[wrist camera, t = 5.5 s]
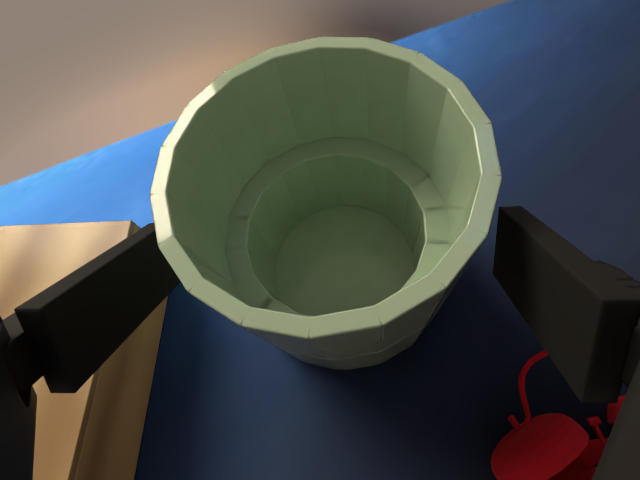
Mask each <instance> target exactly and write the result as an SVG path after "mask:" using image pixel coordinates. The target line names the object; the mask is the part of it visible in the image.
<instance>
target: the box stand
mask: <svg viewBox="0 0 640 480" xmlns="http://www.w3.org/2000/svg"><path fill="white" fill-rule="evenodd" d="M140 229H141V228H140V227H139V226H137V225H136V224H135V223H134V222H133V221H109V222H86V223H63V224H40V225H17V226H0V316H1V318H2V320H3V319H5V318H7V317H8V316H10V315H11V314H13V313H14V312H15V311H14V309H15V308H16V307H18V306H19V305H21V304H23V303H24V302H26V301H27V300H29V299H31V298H32V297H34V296H35V295H37V294H38V293H40V292H42V291H43V290H45V289H46V288H48V287H50V286H51V285H53V284H54V283H56V282H57V281H59V280H61V279H62V278H64V277H65V276H67V275H69V274H70V273H72V272H73V271H75V270H76V269H78V268H80V267H81V266H83V265H84V264H86V263H88V262H89V261H91V260H92V259H94V258H96V257H97V256H99V255H100V254H102V253H103V252H105V251H107V250H108V249H110V248H111V247H113V246H115V245H116V244H118V243H119V242H121V241H122V240H124V239H126V238H127V237H129V236H130V235H132V234H134V233H135V232H137V231H138V230H140ZM167 299H168V296H167V297H166V298H165V299H164V300H163V301H162V302H161V303H160V304H159V305H158V306H157V307H156V308H155V310H154V311H153V312H152V313H151V314H150V315H149V316H148V317H147V318H146V319H145V320H144V321H143V322H142V323H141V324H140V325H139V326H138V327H137V329H136V330H135V331H134V332H133V333H132V334H131V335H130V336H129V337H128V338H127V339H126V340H125V341H124V342H123V343H122V344H121V345H120V346H119V348H118V349H117V350H116V351H115V352H114V353H113V354H112V355H111V356H110V357H109V358H108V359H107V360H106V361H105V362H104V363H103V364H102V365H101V367H100V368H99V369H98V370H97V371H96V372H95V373H94V374H93V375H92V376H91V377H90V378H89V379H88V380H87V381H86V382H85V383H84V384H83V386H82V387H81V388H80V389H79V390H78V391H77V392H76V393H50V390H49V388H48V386H47V384H46V381H45V379H44V377H43V376H42V377H41V378H40V379H39V380H38V381H37V382H36V383H34V384H33V385H32V386H33V388H34V390H35V392H36V395H37V411H36V429H35V447H34V465H33V480H134V477H135V471H136V466H137V461H138V455H139V450H140V444H141V439H142V434H143V428H144V423H145V418H146V412H147V407H148V401H149V396H150V391H151V385H152V380H153V374H154V369H155V364H156V358H157V353H158V347H159V342H160V337H161V331H162V326H163V321H164V315H165V310H166V304H167Z"/></svg>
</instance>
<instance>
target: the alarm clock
mask: <svg viewBox="0 0 640 480" xmlns="http://www.w3.org/2000/svg"><path fill="white" fill-rule="evenodd" d="M546 356H548V353H547V352H546V350H544V351H542V352H540V353H538V354H536V355H535V356H533V357H531V358H530V359H529V360H528V361H527V362H526V363H525V364H524V366H523V367H522V369H521V371H520V374H519V383H518V386H519V394H520V398H521V402H522V405H523V409H524V413H525V421H524V422H523V423H522V424H519V423H518V421H517V420H516V419H515V417H514V416H513V415H511V416H509V417H508V421H509V422H510V423H511V425H512V426H513V427H514V429H513V430H511V431H510V432H509V433H508V434H507V435H505V436H504V437H503V438H502V439H501V440H500V442H499V443H498V444H497V446H496V447H495V449H494V451H493V453H492V457H491V466H492V471H493V473H494V475H495V477H496V479H497V480H592V478H593V475H594V473H595V470H596V468H597V465H598V463H599V460H600V458H601V455H602V453H603V450H604V448H605V445H606V443H607V440H608V438H604V437H603V434H602V432H601V430H600V428H599V426H598V424H601V420H600V418H599V417H597V416H596V417H592V418H587V419H586V422H587V424H588V425H589V426H593V428H594V430H595V432H596V434H597V436H598V438H599V439H593V440H589V435H588V434H587V432H586V431H585V430H584V429H583V428H582V427H581V426H580V425H579V424H578V423H577V422H576V421H575V420H573V419H572V418H570V417H568V416H566V415H564V414H560V413H547V414H542V415H538V416H536V417H534V418H531V413H530V409H529V405H528V401H527V397H526V392H525V376H526V374H527V372H528V370H529V369H530V367H531V366H532V365H533V364H534V363H536V362H537V361H538V360H540V359H542V358H544V357H546ZM624 398H625V395H623V396H619V398H618V401H617V403H609V404H608V406H607V423H610V424H614V423H615V420H616V418H617V415H618V413H619V410H620V408H621V405H622V403H623V400H624Z"/></svg>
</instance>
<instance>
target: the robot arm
mask: <svg viewBox="0 0 640 480" xmlns="http://www.w3.org/2000/svg"><path fill="white" fill-rule="evenodd" d="M493 275H494V276H495V278H496V279H497V281H498V282H499V284H500V285H501V286H502V288H503V289H504V291H505V292H506V294H507V295H508V297H509V298H510V300H511V301H512V302H513V304H514V305H515V307H516V308H517V310H518V311H519V313H520V314H521V316H522V317H523V318H524V320H525V321H526V323H527V324H528V326H529V327H530V329H531V330H532V332H533V333H534V334H535V336H536V337H537V339H538V340H539V342H540V343H541V345H542V346H543V348H544V349H545V350H546V352H547V353H548V355H549V356H550V358H551V359H552V361H553V362H554V364H555V365H556V366H557V368H558V369H559V371H560V372H561V374H562V375H563V377H564V378H565V380H566V381H567V382H568V384H569V385H570V387H571V388H572V390H573V391H574V393H575V394H576V396H577V397H578V398H579V400H580V401H581V403H617V401H618V398H619V394H620V390H621V386H622V382H623V383H624V384H625V385H626V386H627V387H628V390H627V393H626V395H625V398H624V400H623V403H622V405H621V408H620V410H619V413H618V415H617V418H616V420H615V423H614V425H613V428H612V430H611V433H610V435H609V438H608V440H607V443H606V445H605V448H604V450H603V453H602V455H601V458H600V460H599V463H598V465H597V468H596V470H595V473H594V475H593V478H592V480H640V283H639V282H638V281H636V280H633V278H632V277H631V276H629V275H628V274H626V273H625V272H624V271H622V270H621V269H619V268H617V267H614V266H612V265H609V264H607V263H604V262H602V261H593V260H591V259H590V258H589V257H587V256H586V255H585V254H583V253H582V252H581V251H579V250H578V249H577V248H575V247H574V246H573V245H571V244H570V243H569V242H568V241H566V240H565V239H564V238H562V237H561V236H560V235H558V234H557V233H556V232H554V231H553V230H552V229H550V228H549V227H548V226H546V225H545V224H544V223H543V222H541V221H540V220H539V219H537V218H536V217H535V216H533V215H532V214H531V213H529V212H528V211H527V210H525V209H524V208H523V207H521V206H515V207H499V214H498V225H497V235H496V246H495V257H494V268H493ZM180 282H181V281H180V280H179V278H178V277H177V275H176V273H175V272H174V270H173V269H172V267H171V266H170V264H169V263H168V261H167V260H166V258H165V257H164V255H163V254H162V252H161V251H160V249H159V247H158V243H157V237H156V231H155V225H154V223H149V224H148V225H146V226H145V227H143V228H141V229H140V230H138V231H137V232H135V233H134V234H132V235H130V236H129V237H127V238H126V239H124V240H122V241H121V242H119V243H118V244H116V245H115V246H113V247H111V248H110V249H108V250H107V251H105V252H103V253H102V254H100V255H99V256H97V257H96V258H94V259H92V260H91V261H89V262H88V263H86V264H84V265H83V266H81V267H80V268H78V269H76V270H75V271H73V272H72V273H70V274H69V275H67V276H65V277H64V278H62V279H61V280H59V281H57V282H56V283H54V284H53V285H51V286H50V287H48V288H46V289H45V290H43V291H42V292H40V293H38V294H37V295H35V296H34V297H32V298H31V299H29V300H27V301H26V302H24V303H23V304H21V305H19V306H18V307H16V308H15V309H14V311H15V312H14V313H13V314H11V315H10V316H8V317H7V318H5V319H3V320H2V318H1V316H0V480H33V465H34V447H35V429H36V411H37V395H36V392H35V390H34V388H33V386H32V385H33V384H34V383H36V382H37V381H38V380H39V379H40V378H41V377H42V376H43V377H44V379H45V381H46V384H47V386H48V388H49V390H50V393H76V392H77V391H78V390H79V389H80V388H81V387H82V386H83V384H84V383H85V382H86V381H87V380H88V379H89V378H90V377H91V376H92V375H93V374H94V373H95V372H96V371H97V370H98V369H99V368H100V367H101V365H102V364H103V363H104V362H105V361H106V360H107V359H108V358H109V357H110V356H111V355H112V354H113V353H114V352H115V351H116V350H117V349H118V348H119V346H120V345H121V344H122V343H123V342H124V341H125V340H126V339H127V338H128V337H129V336H130V335H131V334H132V333H133V332H134V331H135V330H136V329H137V327H138V326H139V325H140V324H141V323H142V322H143V321H144V320H145V319H146V318H147V317H148V316H149V315H150V314H151V313H152V312H153V311H154V310H155V308H156V307H157V306H158V305H159V304H160V303H161V302H162V301H163V300H164V299H165V298H166V297H167V296H168V295H169V294H170V293H171V292H172V291H173V289H174V288H175V287H176V286H177V285H178V284H179V283H180Z"/></svg>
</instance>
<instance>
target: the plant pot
mask: <svg viewBox="0 0 640 480" xmlns="http://www.w3.org/2000/svg"><path fill="white" fill-rule="evenodd" d="M501 181H502V174H501V169H500V164H499V158H498V153H497V148H496V143H495V138H494V133H493V127H492V124H491V121H490V120H489V119H488V117H487V116H486V114H485V113H484V111H483V110H482V109H481V107H480V106H479V104H478V103H477V101H476V100H475V98H474V97H473V96H472V94H471V93H470V91H469V90H468V88H467V87H466V86H465V84H464V83H463V82H461V80H460V79H459V78H457V77H456V76H454V75H453V74H451V73H450V72H448V71H447V70H445V69H444V68H442V67H441V66H439V65H438V64H437V63H435V62H434V61H432V60H431V59H429V58H428V57H426V56H425V55H423V54H422V53H419V52H418V51H414V50H411V49H407V48H404V47H401V46H397V45H394V44H390V43H387V42H384V41H380V40H377V39H373V38H371V39H370V38H358V37H320V38H319V37H316V38H312V39H308V40H304V41H300V42H295V43H291V44H286V45H282V46H278V47H273V48H271V49H268V50H266V51H264V52H262V53H260V54H258V55H256V56H254V57H252V58H250V59H248V60H246V61H244V62H242V63H240V64H238V65H236V66H234V67H232V68H230V69H228V70H226V72H223V73H222V74H221V75H220V76H219V77H217V78H216V79H215V80H214V81H213V82H212V83H211V84H210V85H208V86H207V87H206V88H205V89H204V90H203V91H202V92H201V93H200V94H198V95H197V96H196V97H195V98H194V99H193V100H192V101H191V102H189V103H188V106H186V107H185V109H184V111H183V112H182V114H181V116H180V117H179V119H178V120H177V122H176V124H175V125H174V127H173V128H172V130H171V132H170V133H169V135H168V136H167V138H166V140H165V141H164V143H163V144H162V147H161V148H160V152H159V156H158V161H157V165H156V170H155V174H154V178H153V183H152V187H151V191H150V200H151V206H152V212H153V219H154V225H155V231H156V237H157V243H158V247H159V249H160V251H161V252H162V254H163V255H164V257H165V258H166V260H167V261H168V263H169V264H170V266H171V267H172V269H173V270H174V272H175V273H176V275H177V277H178V278H179V280H180V281H181V283H182V284H183V286H184V287H185V289H186V290H187V292H189V293H190V294H191V295H192V296H194V297H195V298H197V299H198V300H200V301H201V302H203V303H205V304H206V305H208V306H209V307H211V308H212V309H214V310H215V311H217V312H219V313H220V314H222V315H223V316H225V317H226V318H228V319H229V320H231V321H232V322H234V323H236V324H237V325H239V326H240V327H242V328H244V329H246V330H248V331H249V332H251V333H253V334H255V335H257V336H258V337H260V338H262V339H264V340H266V341H267V342H269V343H271V344H273V345H275V346H276V347H278V348H280V349H282V350H283V351H285V352H287V353H289V354H291V355H292V356H294V357H296V358H298V359H300V360H301V361H303V362H305V363H307V364H312V365H317V366H322V367H327V368H332V369H337V370H350V369H355V368H361V367H367V366H373V365H379V364H382V363H383V362H385V361H387V360H388V359H390V358H392V357H393V356H395V355H397V354H398V353H400V352H402V351H403V350H405V349H407V348H408V347H410V346H412V344H414V343H415V341H416V340H417V339H418V337H419V336H420V335H421V333H422V332H423V331H424V330H425V328H426V327H427V326H428V324H429V323H430V322H431V320H432V319H433V318H434V317H435V315H436V314H437V312H438V310H439V309H440V307H441V306H442V304H443V303H444V301H445V300H446V298H447V297H448V295H449V294H450V292H451V291H452V289H453V288H454V286H455V285H456V283H457V282H458V280H459V279H460V277H461V275H462V274H463V272H464V271H465V269H466V268H467V266H468V265H469V263H470V262H471V260H472V259H473V257H474V256H475V254H476V253H477V251H478V250H479V248H480V247H481V245H482V244H483V242H484V241H485V239H486V237H487V235H488V233H489V229H490V225H491V221H492V217H493V213H494V209H495V205H496V201H497V197H498V193H499V189H500V185H501Z"/></svg>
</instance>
